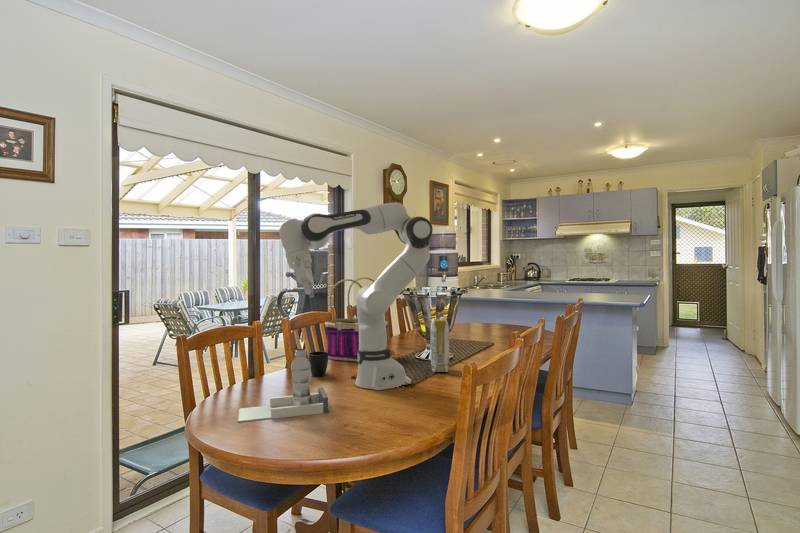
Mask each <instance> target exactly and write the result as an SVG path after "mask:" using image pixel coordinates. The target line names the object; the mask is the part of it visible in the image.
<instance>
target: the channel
mask: <svg viewBox="0 0 800 533" xmlns="http://www.w3.org/2000/svg"><path fill="white" fill-rule="evenodd" d="M310 394H311V399H312V403H311V404H307V405H297V406H292V395H283V396H275V397H269V405H270V408H271V419H272V420H274V419H282V418H291V417H299V416H300V417H301V416H308V415H310V416H311V415H317V414H326V413H329V396H328V394H327V393H326V391H325V389H324V387H323V386H322V387H321V386H320V387H319V386H318V391H317V392H315V393H310ZM289 405H290V406H289Z"/></svg>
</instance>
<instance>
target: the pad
mask: <svg viewBox="0 0 800 533" xmlns="http://www.w3.org/2000/svg"><path fill="white" fill-rule="evenodd" d="M271 408H272V407H270V404H269V405H262V406H261V405H260V406H250V407H243V408H242V407H241V408H239V410H238V417H237V418H238V419H237V423H244V422H245V423H246V422H252V421H261V420H270V419H271Z"/></svg>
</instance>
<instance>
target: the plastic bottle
mask: <svg viewBox="0 0 800 533" xmlns="http://www.w3.org/2000/svg"><path fill="white" fill-rule="evenodd" d="M307 355H308V353H307V349H306V348H297V349H295V350H294V358H293V361H292V362H291V365H290V370H291V371H290V372H291V375H292V376H291V377H292V394H291V396H292V405H291V406H297V405H307V404H313V403H312V399H311V394H312V393H311V389H310V388H311V386H310V378H311V376H310V375H311V370H310V368H311V364H310V362H309V358H307Z"/></svg>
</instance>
